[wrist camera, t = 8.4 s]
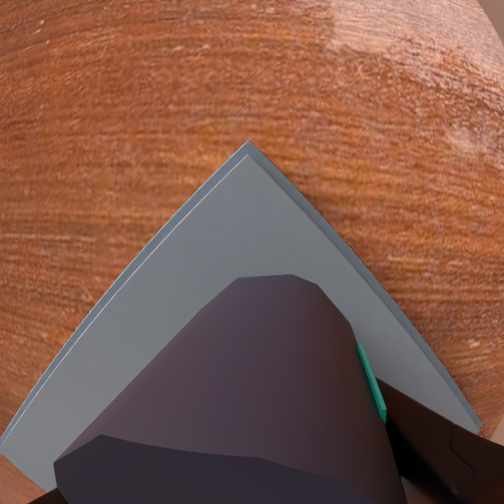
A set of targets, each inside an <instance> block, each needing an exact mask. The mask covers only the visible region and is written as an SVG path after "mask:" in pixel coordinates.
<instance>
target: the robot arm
mask: <svg viewBox="0 0 504 504" xmlns="http://www.w3.org/2000/svg"><path fill="white" fill-rule="evenodd" d="M375 379H376V382H377V384H378V387H379V390H380V392H381V395H382V398H383V400H384V403H385V406H386V409H387V412H386V421H385V428H386V431H387V435H388V438H389V442H390V445H391V448H392V452H393V455H394V459H395V463H396V466H397V470H398V472H399V474H400V476H401V480H402V484H403V488H404V492H405V496H406V500H407V504H504V446H502V445H499V444H497V443H494V442H492V441H490V440H487V439H485V438H482V437H480V436H478V435H476V434H474V433H472V432H470V431H468V430H466V429H464V428H463V427H461V426H459V425H457V424H454V423H453V422H452V421H450V420H448V419H446V418H445V417H443V416H441V415H440V414H438V413H436V412H434V411H433V410H431V409H429V408H427V407H426V406H424V405H422V404H421V403H419V402H417V401H416V400H414V399H412V398H410V397H409V396H407V395H405V394H404V393H402V392H400V391H399V390H397V389H395V388H394V387H392V386H390V385H389V384H387V383H385V382H384V381H382V380H381V379H379V378H377V377H376V376H375ZM28 504H68V502H67V501H66V499H65V498H64V497H63V495H62V494H61V492H60V491H59V490H58V488H57V487H56V488H55V489H53V490H51V491H50V492H48V493H46V494H44V495H43V496H41V497H39V498H37V499H35V500H34V501H32V502H30V503H28Z"/></svg>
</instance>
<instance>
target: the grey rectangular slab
mask: <svg viewBox="0 0 504 504" xmlns="http://www.w3.org/2000/svg"><path fill="white" fill-rule="evenodd" d="M286 274H293V275H295V276H298V277H300V278H303V279H305V280H308V281H310V282H312V283H315V284H317V285H318V286H319V287H320V288H321V289H322V290H323V292H324V293H325V294H326V295H327V296H328V298H329V299H330V300H331V301H332V302H333V303H334V305H335V306H336V307H337V308H338V309H339V311H340V312H341V313H342V314H343V315H344V316H345V318H346V319H347V320H348V321H349V322H350V324H351V327H352V329H353V332H354V335H355V338H356V340H357V343H362V346H363V348H364V351H365V353H366V356H367V358H368V361H369V364H370V366H371V369H372V371H373V374H374V376H376V377H377V378H379V379H381V380H382V381H384V382H385V383H387V384H389V385H390V386H392V387H394V388H395V389H397V390H399V391H400V392H402V393H404V394H405V395H407V396H409V397H410V398H412V399H414V400H416V401H417V402H419V403H421V404H422V405H424V406H426V407H427V408H429V409H431V410H433V411H434V412H436V413H438V414H440V415H441V416H443V417H445V418H446V419H448V420H450V421H452V422H453V423H454V424H457V425H459V426H461V427H463V428H464V429H466V430H468V431H470V432H472V433H474V434H477V433H478V432H479V431H480V430H479V429H480V428H481V427H482V426H483V424H482V422H481V420H480V419H479V417H478V416H477V414H476V413H475V411H474V410H473V408H472V407H471V405H470V404H469V402H468V401H467V399H466V398H465V396H464V395H463V393H462V392H461V390H460V389H459V387H458V386H457V384H456V383H455V381H454V380H453V379H452V377H451V376H450V374H449V373H448V371H447V370H446V369H445V367H444V366H443V364H442V363H441V362H440V360H439V359H438V358H437V356H436V355H435V353H434V352H433V351H432V349H431V348H430V347H429V345H428V344H427V343H426V341H425V340H424V339H423V337H422V336H421V335H420V333H419V332H418V331H417V329H416V328H415V327H414V325H413V324H412V323H411V321H410V320H409V319H408V318H407V316H406V315H405V314H404V312H403V311H402V310H401V309H400V307H399V306H398V305H397V304H396V302H395V301H394V300H393V299H392V297H391V296H390V295H389V294H388V292H387V291H386V290H385V289H384V287H383V286H382V285H381V284H380V282H379V281H378V280H377V279H376V278H375V276H374V275H373V274H372V273H371V272H370V270H369V269H368V268H367V267H366V266H365V264H364V263H363V262H362V261H361V260H360V258H359V257H358V256H357V255H356V254H355V253H354V251H353V250H352V249H351V248H350V247H349V246H348V245H347V243H346V242H345V241H344V240H343V239H342V238H341V236H340V235H339V234H338V233H337V232H336V231H335V230H334V229H333V227H332V226H331V225H330V224H329V223H328V222H327V221H326V220H325V219H324V217H323V216H322V215H321V214H320V213H319V212H318V211H317V210H316V209H315V207H314V206H313V205H312V204H311V203H310V202H309V201H308V200H307V199H306V198H305V197H304V196H303V195H302V193H301V192H300V191H299V190H298V189H297V188H296V187H295V186H294V185H293V184H292V183H291V182H290V181H289V180H288V179H287V178H286V177H285V176H284V174H283V173H282V172H281V171H280V170H279V169H278V168H277V167H276V166H275V165H274V164H273V163H272V162H271V161H270V160H269V159H268V158H267V157H266V156H265V155H264V154H263V153H262V152H261V151H260V150H259V149H258V148H257V147H256V146H255V145H254V144H253V143H252V142H251V141H250V140H248V141H247V142H246V143H245V144H243V145H242V146H241V147H240V148H239V149H238V150H237V151H236V152H235V153H234V154H233V155H232V156H231V157H230V158H229V159H228V160H227V161H226V162H225V163H224V164H223V165H222V166H221V167H220V168H219V169H218V170H217V171H216V172H215V173H214V174H213V175H212V176H211V177H210V178H209V179H208V180H207V181H206V182H205V183H204V184H203V185H202V186H201V187H200V188H199V189H198V190H197V191H196V192H195V193H194V194H193V195H192V196H191V197H190V198H189V199H188V200H187V201H186V202H185V204H184V205H183V206H182V207H181V208H180V209H179V210H178V211H177V212H176V213H175V214H174V215H173V216H172V217H171V218H170V219H169V221H168V222H167V223H166V224H165V225H164V226H163V227H162V228H161V229H160V230H159V231H158V233H157V234H156V235H155V236H154V237H153V238H152V239H151V240H150V241H149V243H148V244H147V245H146V246H145V247H144V248H143V249H142V250H141V252H140V253H139V254H138V255H137V256H136V257H135V258H134V260H133V261H132V262H131V263H130V264H129V265H128V267H127V268H126V269H125V270H124V271H123V272H122V274H121V275H120V276H119V277H118V278H117V279H116V281H115V282H114V283H113V284H112V285H111V287H110V288H109V289H108V290H107V291H106V293H105V294H104V295H103V296H102V298H101V299H100V300H99V301H98V302H97V304H96V305H95V306H94V307H93V309H92V310H91V311H90V312H89V314H88V315H87V316H86V317H85V319H84V320H83V321H82V323H81V324H80V325H79V326H78V328H77V329H76V330H75V332H74V333H73V334H72V336H71V337H70V338H69V339H68V341H67V342H66V343H65V345H64V346H63V347H62V349H61V350H60V351H59V353H58V354H57V356H56V357H55V358H54V360H53V361H52V362H51V364H50V365H49V367H48V368H47V369H46V371H45V372H44V374H43V375H42V376H41V378H40V379H39V381H38V382H37V384H36V385H35V386H34V388H33V389H32V391H31V392H30V394H29V395H28V397H27V398H26V400H25V401H24V403H23V404H22V406H21V407H20V409H19V410H18V412H17V413H16V415H15V416H14V418H13V420H12V421H11V423H10V424H9V426H8V427H7V429H6V431H5V432H4V434H3V436H2V437H1V439H0V453H1V454H2V455H3V456H4V457H5V458H6V459H8V460H9V461H10V462H11V463H12V464H13V465H14V466H15V467H16V468H18V469H19V470H20V471H21V472H22V473H23V474H25V475H26V476H27V477H28V478H29V479H31V480H32V481H33V482H34V483H36V484H37V485H38V486H39V487H41V488H42V489H43V490H45V491H46V492H47V493H48V492H50V491H51V490H53V489H55V488H56V487H57V485H56V479H55V473H54V466H53V462H54V461H55V460H56V459H57V458H58V457H59V456H60V455H61V454H62V453H63V452H64V451H65V450H66V449H67V448H68V447H69V446H70V445H71V444H72V443H73V442H74V441H75V440H76V438H77V437H78V436H79V435H80V434H81V433H82V432H83V431H84V430H85V429H86V428H87V427H88V426H89V425H90V424H91V423H92V422H93V421H94V420H95V419H96V418H97V417H98V416H99V415H100V414H101V413H102V411H103V410H104V409H105V408H106V407H107V406H108V405H109V404H110V403H111V402H112V401H113V400H114V399H115V398H116V397H117V396H118V395H119V394H120V393H121V392H122V391H123V390H124V389H125V388H126V387H127V385H128V384H129V383H130V382H131V381H132V380H133V379H134V378H135V377H136V376H137V375H138V374H139V373H140V372H141V371H142V370H143V369H144V368H145V367H146V366H147V365H148V364H149V363H150V362H151V360H152V359H153V358H154V357H155V356H156V355H157V354H158V353H159V352H160V351H161V350H162V349H163V348H164V347H165V346H166V345H167V344H168V343H169V342H170V341H171V340H172V339H173V338H174V336H175V335H176V334H177V333H178V332H179V331H180V330H181V329H182V328H183V327H184V326H185V325H186V324H187V323H188V322H189V321H190V320H191V319H192V318H193V317H194V316H195V315H196V313H197V312H198V311H199V310H200V309H201V308H203V307H204V306H205V305H206V304H207V303H208V302H210V301H211V300H212V299H213V298H214V297H215V296H217V295H218V294H219V293H220V292H221V291H223V290H224V289H225V288H226V287H227V286H228V285H230V284H231V283H232V282H233V281H234V280H235V279H237V278H240V277H256V276H271V275H286Z"/></svg>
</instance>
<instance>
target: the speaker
mask: <svg viewBox="0 0 504 504" xmlns="http://www.w3.org/2000/svg"><path fill="white" fill-rule="evenodd" d="M386 412H387V409H386V406H385V403H384V400H383V398H382V395H381V392H380V390H379V387H378V384H377V382H376V379H375V376H374V374H373V371H372V369H371V366H370V364H369V361H368V358H367V356H366V353H365V351H364V348H363V346H362V343H357V340H356V338H355V335H354V332H353V329H352V327H351V324H350V322H349V321H348V320H347V319H346V318H345V316H344V315H343V314H342V313H341V312H340V311H339V309H338V308H337V307H336V306H335V305H334V303H333V302H332V301H331V300H330V299H329V298H328V296H327V295H326V294H325V293H324V292H323V290H322V289H321V288H320V287H319V286H318V285H317V284H315V283H312V282H310V281H308V280H305V279H303V278H300V277H298V276H295V275H293V274H286V275H271V276H256V277H240V278H237V279H235V280H234V281H233V282H232V283H231V284H230V285H228V286H227V287H226V288H225V289H224V290H223V291H221V292H220V293H219V294H218V295H217V296H215V297H214V298H213V299H212V300H211V301H210V302H208V303H207V304H206V305H205V306H204V307H203V308H201V309H200V310H199V311H198V312H197V313H196V315H195V316H194V317H193V318H192V319H191V320H190V321H189V322H188V323H187V324H186V325H185V326H184V327H183V328H182V329H181V330H180V331H179V332H178V333H177V334H176V335H175V336H174V338H173V339H172V340H171V341H170V342H169V343H168V344H167V345H166V346H165V347H164V348H163V349H162V350H161V351H160V352H159V353H158V354H157V355H156V356H155V357H154V358H153V359H152V360H151V362H150V363H149V364H148V365H147V366H146V367H145V368H144V369H143V370H142V371H141V372H140V373H139V374H138V375H137V376H136V377H135V378H134V379H133V380H132V381H131V382H130V383H129V384H128V385H127V387H126V388H125V389H124V390H123V391H122V392H121V393H120V394H119V395H118V396H117V397H116V398H115V399H114V400H113V401H112V402H111V403H110V404H109V405H108V406H107V407H106V408H105V409H104V410H103V411H102V413H101V414H100V415H99V416H98V417H97V418H96V419H95V420H94V421H93V422H92V423H91V424H90V425H89V426H88V427H87V428H86V429H85V430H84V431H83V432H82V433H81V434H80V435H79V436H78V437H77V438H76V440H75V441H74V442H73V443H72V444H71V445H70V446H69V447H68V448H67V449H66V450H65V451H64V452H63V453H62V454H61V455H60V456H59V457H58V458H57V459H56V460H55V461H54V462H53V466H54V473H55V479H56V485H57V488H58V490H59V491H60V492H61V494H62V495H63V497H64V498H65V499H66V501H67V502H68V504H407V500H406V496H405V492H404V488H403V484H402V480H401V476H400V474H399V472H398V470H397V466H396V463H395V459H394V455H393V452H392V448H391V445H390V442H389V438H388V435H387V431H386V428H385V421H386Z"/></svg>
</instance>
